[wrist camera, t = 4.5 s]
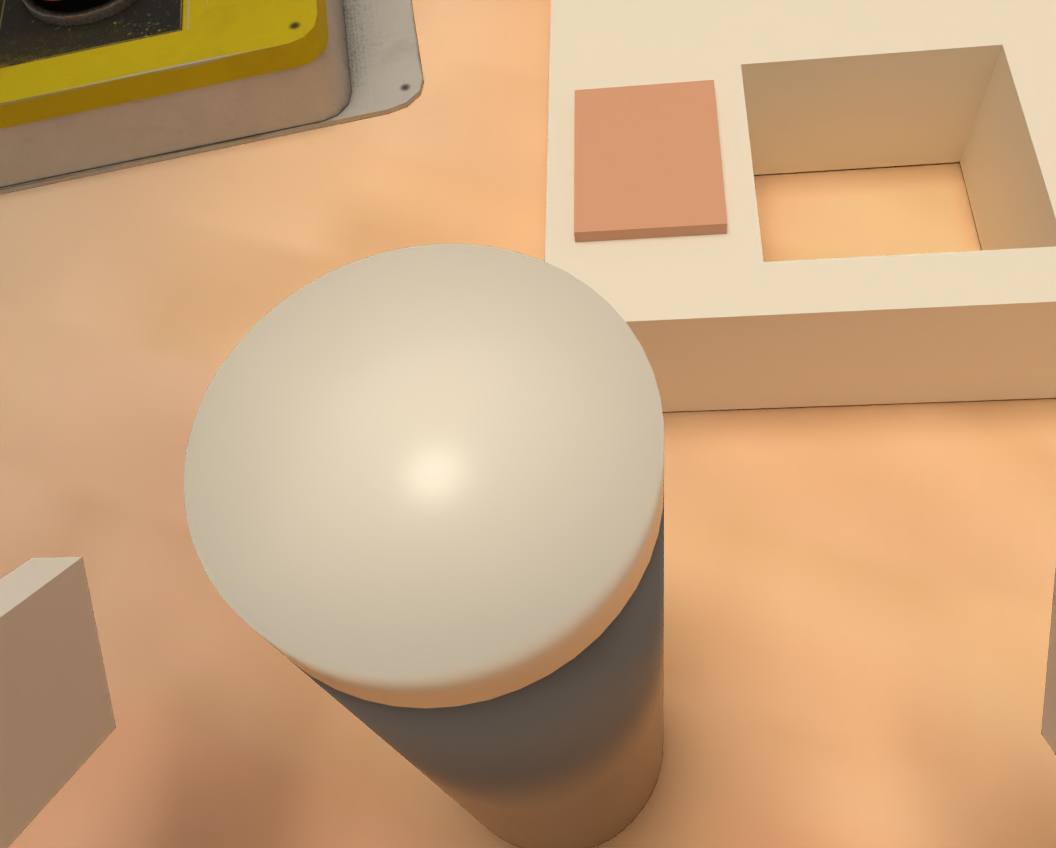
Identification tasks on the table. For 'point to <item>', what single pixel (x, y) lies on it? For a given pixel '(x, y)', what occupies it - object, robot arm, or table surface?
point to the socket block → (801, 146)
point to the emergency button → (188, 77)
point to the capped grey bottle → (454, 525)
